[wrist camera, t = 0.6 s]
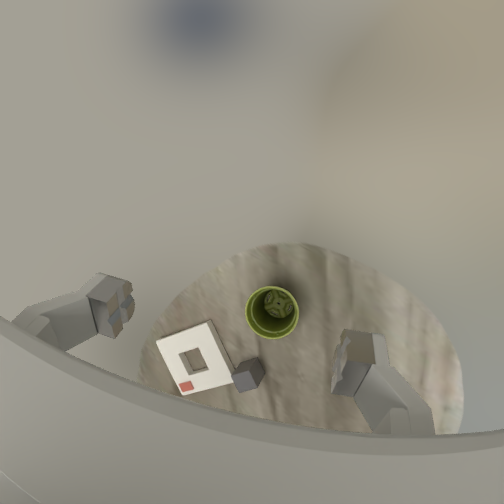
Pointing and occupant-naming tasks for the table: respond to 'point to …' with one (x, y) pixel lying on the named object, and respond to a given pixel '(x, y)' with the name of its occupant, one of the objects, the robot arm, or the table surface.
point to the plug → (248, 375)
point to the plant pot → (264, 319)
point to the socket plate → (210, 350)
